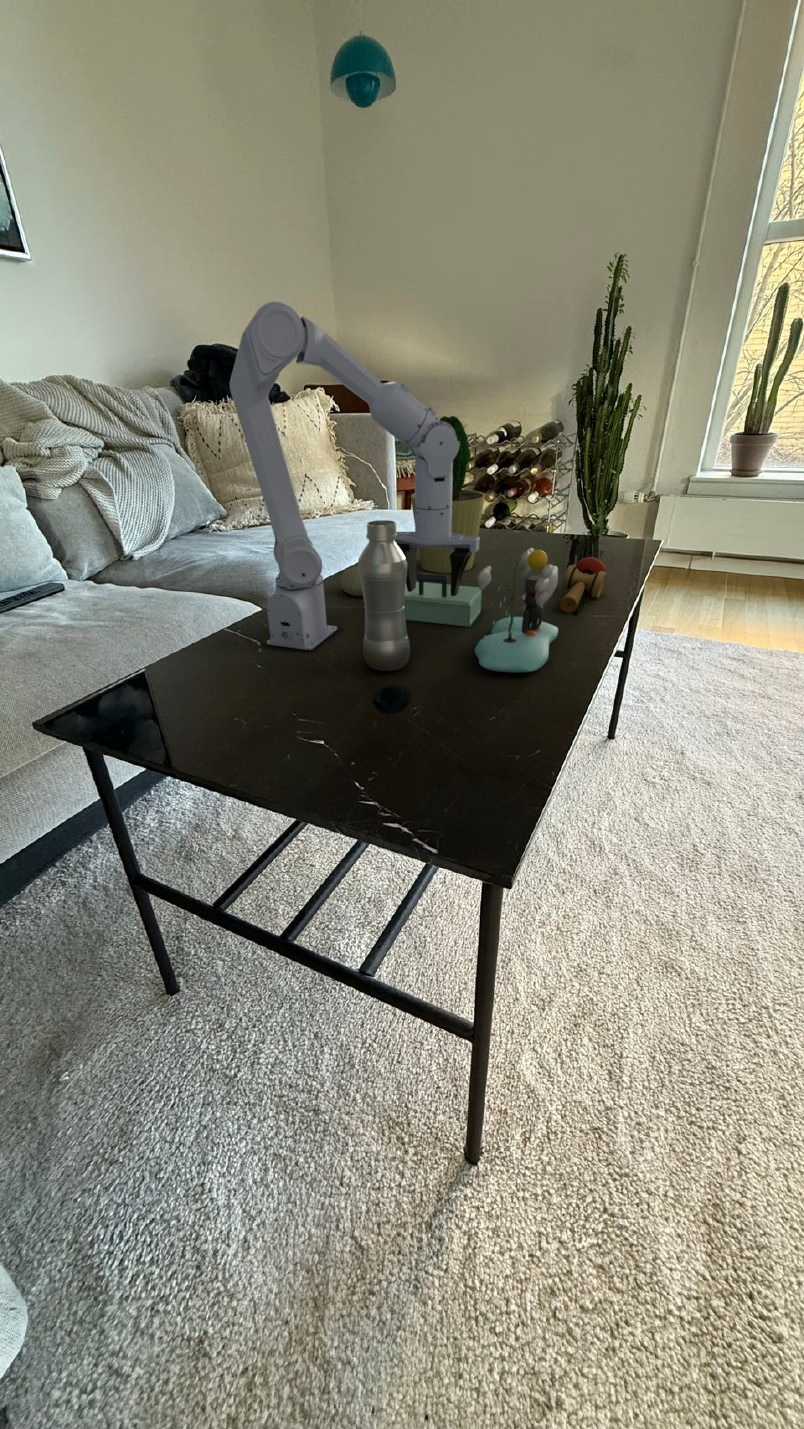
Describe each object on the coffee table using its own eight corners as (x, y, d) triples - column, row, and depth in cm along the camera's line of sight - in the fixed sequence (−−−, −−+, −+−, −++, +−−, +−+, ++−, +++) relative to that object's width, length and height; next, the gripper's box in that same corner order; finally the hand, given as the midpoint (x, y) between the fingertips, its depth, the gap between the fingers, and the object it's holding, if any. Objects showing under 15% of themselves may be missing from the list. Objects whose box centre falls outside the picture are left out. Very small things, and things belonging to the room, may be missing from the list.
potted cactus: (493, 561, 132) (502, 410, 118) (462, 579, 121) (467, 414, 106) (433, 553, 140) (434, 410, 125) (398, 569, 128) (394, 414, 114)
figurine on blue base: (501, 624, 99) (507, 531, 91) (566, 633, 95) (578, 536, 87) (460, 672, 83) (464, 564, 75) (536, 685, 79) (548, 572, 72)
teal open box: (469, 627, 98) (470, 605, 96) (393, 618, 102) (393, 597, 100) (480, 612, 104) (481, 591, 102) (408, 604, 108) (408, 585, 106)
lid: (469, 606, 96) (470, 580, 94) (392, 598, 100) (391, 573, 98) (481, 591, 102) (482, 566, 100) (408, 584, 106) (407, 560, 104)
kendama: (594, 623, 102) (614, 580, 114) (591, 589, 98) (612, 549, 111) (549, 624, 106) (574, 583, 118) (545, 591, 102) (571, 552, 115)
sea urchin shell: (392, 588, 110) (360, 558, 108) (364, 617, 113) (332, 589, 111) (394, 574, 118) (364, 546, 116) (367, 601, 121) (337, 574, 119)
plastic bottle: (405, 678, 82) (402, 529, 72) (358, 675, 83) (348, 528, 73) (414, 659, 87) (412, 518, 77) (369, 656, 88) (362, 517, 79)
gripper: (485, 503, 93) (481, 588, 99) (398, 500, 97) (400, 581, 104) (474, 512, 87) (470, 602, 94) (382, 507, 91) (385, 593, 98)
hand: (432, 592), depth 98 cm, fingers open, 7 cm apart
